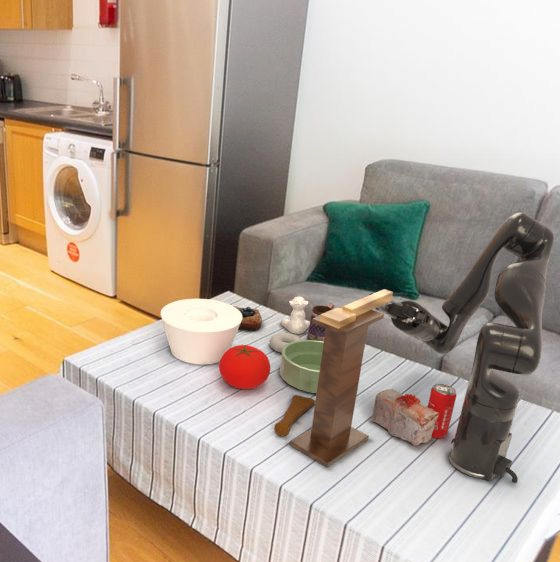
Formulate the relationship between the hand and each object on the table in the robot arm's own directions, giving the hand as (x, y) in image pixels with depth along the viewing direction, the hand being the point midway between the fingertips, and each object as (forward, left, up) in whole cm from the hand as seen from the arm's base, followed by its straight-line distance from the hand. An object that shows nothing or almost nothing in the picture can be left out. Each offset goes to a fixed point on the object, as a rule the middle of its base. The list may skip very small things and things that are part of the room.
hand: (387, 302), depth 133 cm
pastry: (+56, -17, -31) cm, 66 cm away
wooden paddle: (0, +12, +1) cm, 12 cm away
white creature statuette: (+42, -27, -31) cm, 59 cm away
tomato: (+30, +12, -31) cm, 45 cm away
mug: (+32, -26, -31) cm, 52 cm away
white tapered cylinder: (+51, +8, -31) cm, 60 cm away
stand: (0, +16, -31) cm, 35 cm away
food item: (-8, -1, -31) cm, 32 cm away
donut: (+36, -14, -31) cm, 50 cm away
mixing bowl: (+20, -6, -31) cm, 37 cm away
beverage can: (-13, -7, -31) cm, 35 cm away
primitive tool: (+12, +14, -31) cm, 36 cm away
